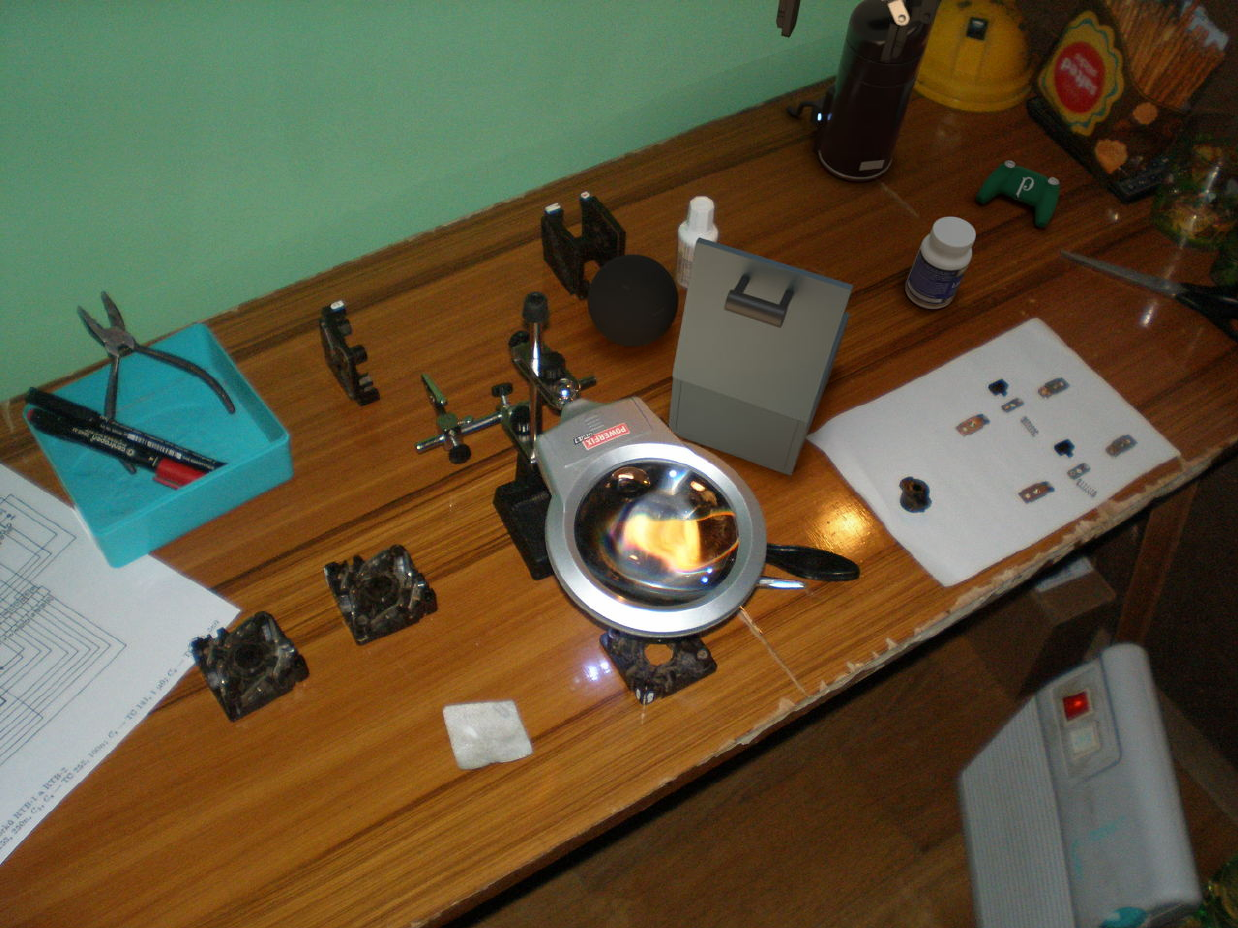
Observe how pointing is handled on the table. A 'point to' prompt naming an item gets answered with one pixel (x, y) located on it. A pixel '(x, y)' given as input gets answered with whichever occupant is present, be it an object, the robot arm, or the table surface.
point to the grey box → (743, 422)
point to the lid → (758, 328)
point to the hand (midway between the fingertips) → (836, 44)
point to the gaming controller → (1022, 189)
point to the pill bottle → (941, 263)
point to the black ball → (633, 300)
